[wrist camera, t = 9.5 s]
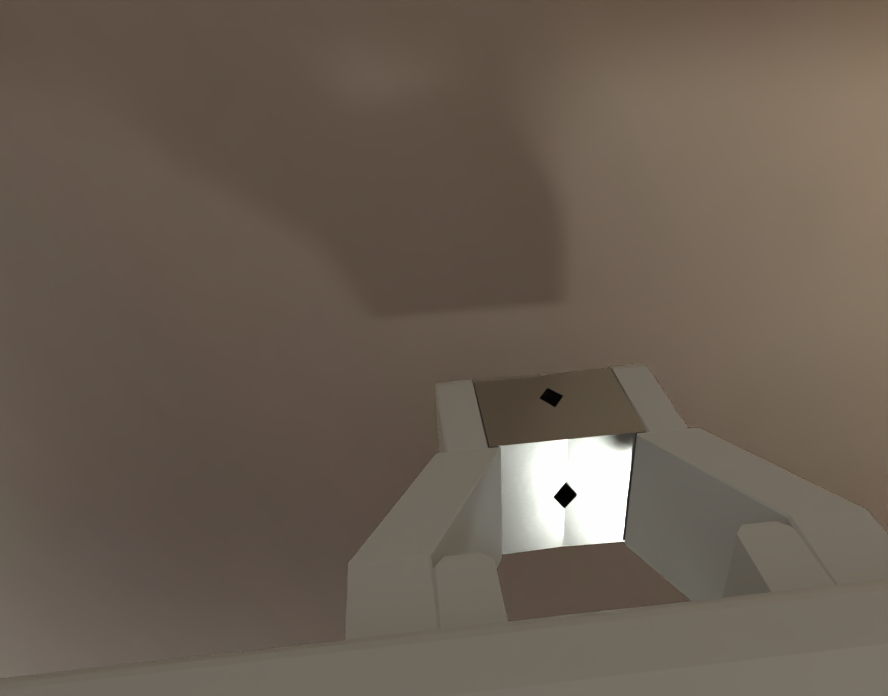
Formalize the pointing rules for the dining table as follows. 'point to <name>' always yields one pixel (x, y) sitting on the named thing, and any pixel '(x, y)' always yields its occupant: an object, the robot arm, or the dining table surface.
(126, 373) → the dining table surface
